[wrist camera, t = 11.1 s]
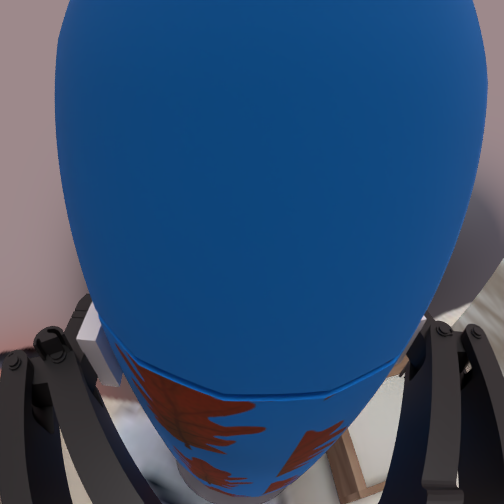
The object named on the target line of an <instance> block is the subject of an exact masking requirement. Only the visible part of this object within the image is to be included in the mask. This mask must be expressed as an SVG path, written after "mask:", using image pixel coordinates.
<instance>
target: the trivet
mask: <svg viewBox="0 0 504 504" xmlns="http://www.w3.org/2000/svg"><path fill="white" fill-rule="evenodd" d="M176 461H177V459H176ZM177 466H178V469H179V472H180V474H181V476H182V478H183V479H184V481H185V482H186V484H187V485H188V486H189V487H190V488H191V489H192V490H193V491H194V492H195V493H196V494H198V495H199V496H200V497H202V498H204V499H205V500H207V501H209V502H212V503H214V504H262V503H264V502H267V501H269V500H270V499H272V498H274V497H275V496H277V495H278V494H279V493H281V492H282V491H283V490H284V489H285V488H286V487H287V486H286V487H284V488H282V489H280V490H277V491H274V492H271V493H269V494H266V495H263V496H260V497H232V496H229V495H226V494H223V493H220V492H217V491H215V490H212V489H209V488H208V487H207V486H205V485H204V484H203V483H202V482H200V481H199V480H198V479H197V478H195V477H194V476H193V475H192V474H191V473H190V472H188V471H187V470H186V469H185V468H184V467H183V466H182V465H181V464H180V463H179V462H178V461H177Z"/></svg>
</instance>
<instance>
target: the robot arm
mask: <svg viewBox="0 0 504 504" xmlns="http://www.w3.org/2000/svg"><path fill="white" fill-rule="evenodd" d="M33 346H34V348H35V349H36V351H37V352H38V354H39V355H40V357H34V358H28V356H27V355H26V353H25V352H23V351H22V350H15V351H12V352H10V353H9V354H8V355H7V356H6V358H5V359H4V362H3V365H2V371H1V377H0V495H1V501H2V504H73V503H72V499H71V495H70V491H69V487H68V482H67V477H66V472H65V467H64V461H63V454H62V447H61V438H60V429H61V432H62V435H63V438H64V441H65V443H66V446H67V449H68V451H69V454H70V456H71V459H72V461H73V464H74V466H75V468H76V471H77V473H78V475H79V477H80V479H81V482H82V484H83V486H84V488H85V490H86V492H87V494H88V496H89V497H90V499H91V501H92V503H93V504H162V503H161V502H160V500H159V499H158V498H157V496H156V495H155V493H154V492H153V490H152V489H151V488H150V486H149V485H148V483H147V482H146V480H145V479H144V477H143V475H142V474H141V472H140V471H139V469H138V467H137V466H136V464H135V463H134V461H133V459H132V457H131V456H130V454H129V452H128V450H127V449H126V447H125V445H124V443H123V441H122V439H121V438H120V436H119V434H118V432H117V430H116V428H115V426H114V424H113V422H112V420H111V418H110V415H109V413H108V411H107V409H106V407H105V404H104V402H103V400H102V398H101V395H100V393H99V390H98V389H97V387H96V386H95V385H96V381H97V378H99V380H100V381H101V383H102V385H107V386H116V387H119V386H120V383H121V378H122V373H123V371H122V369H121V367H120V365H119V363H118V361H117V359H116V357H115V354H114V352H113V350H112V348H111V346H110V343H109V341H108V339H107V337H106V334H105V332H104V330H103V327H102V325H101V322H100V320H99V317H98V312H97V311H96V309H95V307H94V304H93V301H92V299H91V296H90V294H86V295H85V296H84V297H83V298H82V299H81V300H80V301H79V302H78V304H77V306H76V308H75V311H74V312H73V314H72V318H71V319H70V321H69V323H68V325H67V327H66V329H65V331H64V332H63V330H62V329H61V328H59V327H56V326H50V327H46V328H44V329H43V330H41V331H40V332H39V333H38V334H37V335H36V337H35V339H34V343H33ZM405 355H407V357H408V359H409V361H408V362H407V364H406V365H405V367H404V368H403V370H402V371H401V373H400V375H399V377H401V376H402V375H403V374H404V372H405V377H404V378H405V381H404V391H403V399H402V407H401V413H400V420H399V426H398V431H397V437H396V442H395V446H394V451H393V455H392V460H391V464H390V468H389V472H388V475H387V479H386V483H385V486H384V489H383V493H382V496H381V499H380V501H379V503H378V504H504V377H503V374H502V371H501V369H500V366H499V364H498V361H497V359H496V356H495V354H494V351H493V349H492V347H491V345H490V342H489V340H488V338H487V336H486V334H485V332H484V331H483V329H482V328H481V327H480V326H478V325H476V324H468V325H467V326H466V328H465V329H464V331H463V332H460V331H453V329H452V328H451V327H450V326H449V325H448V324H447V323H445V322H442V321H435V320H434V319H433V318H432V316H431V315H430V314H429V312H428V311H427V310H426V312H425V314H424V316H423V318H422V319H421V322H420V323H419V325H418V327H417V329H416V331H415V332H414V334H413V336H412V338H411V339H410V341H409V343H408V345H407V346H406V348H405V349H404V351H403V353H402V354H401V356H400V358H399V359H398V361H397V362H396V364H400V363H401V362H402V360H403V358H404V357H405ZM469 363H470V364H471V367H472V368H471V369H470V371H469V372H468V373H467V372H466V369H465V368H466V367H467V366H468V364H469ZM396 364H395V365H396ZM59 426H60V428H59ZM457 471H458V478H459V488H458V487H457V486H456V478H457Z"/></svg>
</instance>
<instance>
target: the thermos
mask: <svg viewBox="0 0 504 504" xmlns="http://www.w3.org/2000/svg"><path fill="white" fill-rule="evenodd" d="M487 89H488V79H487V67H486V57H485V51H484V46H483V40H482V35H481V30H480V26H479V22H478V18H477V14H476V10H475V7H474V4H473V1H472V0H70V2H69V4H68V8H67V11H66V13H65V17H64V20H63V23H62V27H61V31H60V35H59V38H58V46H57V56H56V70H55V122H56V138H57V149H58V159H59V166H60V175H61V181H62V188H63V193H64V199H65V204H66V209H67V214H68V219H69V223H70V228H71V232H72V236H73V240H74V244H75V247H76V251H77V255H78V258H79V262H80V265H81V268H82V272H83V275H84V278H85V281H86V284H87V287H88V290H89V293H90V296H91V299H92V301H93V304H94V307H95V309H96V311H97V312H98V317H99V320H100V322H101V325H102V327H103V330H104V332H105V334H106V337H107V339H108V341H109V343H110V346H111V348H112V350H113V352H114V354H115V357H116V359H117V361H118V363H119V365H120V367H121V369H122V371H123V373H124V375H125V377H126V379H127V381H128V383H129V384H130V386H131V388H132V390H133V392H134V394H135V395H136V397H137V399H138V401H139V403H140V404H141V406H142V408H143V409H144V411H145V413H146V414H147V416H148V418H149V419H150V421H151V423H152V424H153V426H154V427H155V429H156V430H157V432H158V433H159V435H160V436H161V438H162V439H163V441H164V442H165V444H166V445H167V447H168V448H169V450H170V451H171V452H172V454H173V455H174V457H175V458H176V459H177V461H178V462H179V463H180V464H181V465H182V466H183V467H184V468H185V469H186V470H187V471H188V472H190V473H191V474H192V475H193V476H194V477H195V478H197V479H198V480H199V481H200V482H202V483H203V484H204V485H205V486H207V487H208V488H209V489H212V490H215V491H217V492H220V493H223V494H226V495H229V496H232V497H260V496H263V495H266V494H269V493H271V492H274V491H277V490H280V489H282V488H284V487H286V486H288V485H289V484H291V483H293V482H294V481H295V480H296V479H298V478H299V477H300V476H301V475H302V474H303V473H304V472H306V471H307V470H308V469H309V468H310V467H311V466H312V465H313V464H314V463H315V462H316V461H317V460H318V459H319V458H320V457H321V456H322V455H323V454H324V453H325V452H326V451H327V450H328V449H329V448H330V447H331V446H332V445H333V444H334V443H335V442H336V440H337V439H338V438H339V437H340V436H341V435H342V434H343V433H344V431H345V430H346V429H347V428H348V427H349V426H350V424H351V423H352V422H353V421H354V420H355V418H356V417H357V416H358V415H359V414H360V412H361V411H362V410H363V409H364V407H365V406H366V405H367V403H368V402H369V401H370V399H371V398H372V397H373V395H374V394H375V393H376V391H377V390H378V389H379V387H380V386H381V384H382V383H383V382H384V380H385V379H386V377H387V376H388V374H389V373H390V371H391V370H392V368H393V367H394V365H395V364H396V362H397V361H398V359H399V358H400V356H401V354H402V353H403V351H404V349H405V348H406V346H407V345H408V343H409V341H410V339H411V338H412V336H413V334H414V332H415V331H416V329H417V327H418V325H419V323H420V322H421V319H422V318H423V316H424V314H425V312H426V310H427V308H428V306H429V304H430V302H431V300H432V298H433V296H434V294H435V292H436V290H437V288H438V285H439V283H440V281H441V279H442V276H443V274H444V272H445V269H446V267H447V265H448V262H449V260H450V257H451V255H452V252H453V250H454V247H455V244H456V241H457V239H458V235H459V233H460V230H461V227H462V224H463V221H464V218H465V214H466V211H467V208H468V204H469V201H470V197H471V193H472V189H473V185H474V181H475V177H476V173H477V168H478V163H479V158H480V152H481V146H482V140H483V133H484V126H485V117H486V106H487Z"/></svg>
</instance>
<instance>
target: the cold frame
mask: <svg viewBox="0 0 504 504" xmlns="http://www.w3.org/2000/svg"><path fill="white" fill-rule="evenodd" d="M468 324H476V325H478V326H480V327H481V328H482V329H483V331H484V332H485V334H486V336H487V338H488V340H489V342H490V345H491V347H492V349H493V351H494V354H495V356H496V359H497V361H498V364H499V366H500V369H501V371H502V374H503V377H504V259H503V260H502V262H501V263H500V265H499V266H498V268H497V269H496V271H495V272H494V274H493V275H492V276H491V278H490V279H489V281H488V282H487V284H486V285H485V286H484V288H483V289H482V290H481V292H480V293H479V294H478V296H477V297H476V298H475V299H474V301H473V302H472V303H471V304H470V306H469V307H468V308H467V309H466V311H465V312H464V313H463V314H462V315H461V317H460V318H459V319H458V320H457V321H456V322H455V323H454V325H453V326H452V327H451V328H452V329H453V331H460V332H463V331H464V329H465V328H466V326H467V325H468ZM408 361H409V359H408V357H407V355H405V357H404V358H403V360H402V362H401V363H400V364H396V365H394V367H393V368H392V370H391V371H390V373H389V374H388V376H387V377H391V376H394V375H398V374H400V373H401V371H402V370H403V368H404V367H405V365H406V364H407V362H408ZM468 367H469V368H470V369H471V368H472V367H471V364H470V363H469V364H468ZM387 377H386V378H387ZM326 453H327V456H328V460H329V463H330V467H331V471H332V474H333V478H334V482H335V485H336V489H337V493H338V496H339V500H340V504H346V503H350V502H353V501H356V500H359V499H361V498H364V497H367V496H370V495H372V494H375V493H377V492H380V491H382V490H383V489H384V486H385V483H386V481H385V482H382V483H380V484H377V485H374V486H372V487H369V488H367V487H366V484H365V480H364V477H363V474H362V471H361V468H360V465H359V461H358V458H357V455H356V452H355V449H354V446H353V443H352V440H351V437H350V434H349V431H348V428H347V429H346V430H345V431H344V433H343V434H342V435H341V436H340V437H339V438H338V439H337V440H336V442H335V443H334V444H333V445H332V446H331V447H330V448H329V449H328V450H327V451H326Z"/></svg>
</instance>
